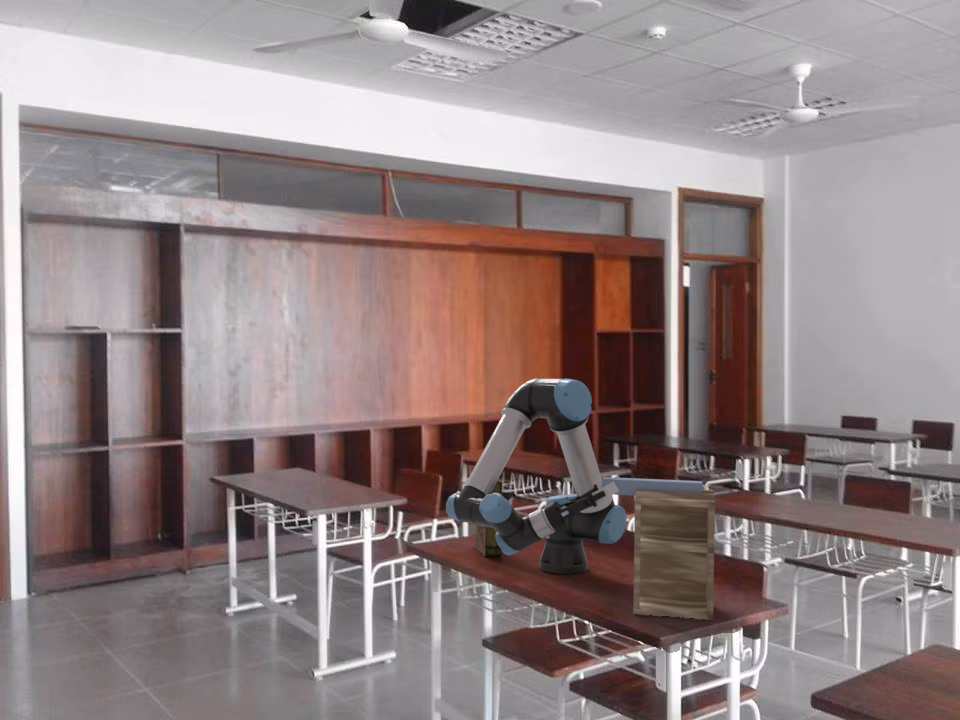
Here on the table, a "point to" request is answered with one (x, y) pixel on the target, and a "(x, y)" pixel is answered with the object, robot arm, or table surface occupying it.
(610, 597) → the table surface
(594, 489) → the robot arm
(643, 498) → the shelf stand
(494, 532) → the book
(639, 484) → the block
